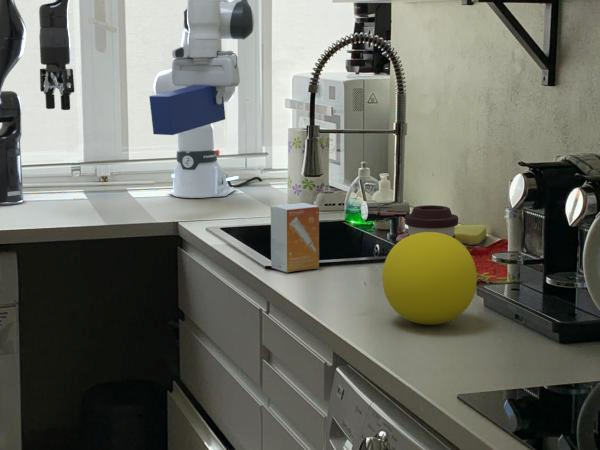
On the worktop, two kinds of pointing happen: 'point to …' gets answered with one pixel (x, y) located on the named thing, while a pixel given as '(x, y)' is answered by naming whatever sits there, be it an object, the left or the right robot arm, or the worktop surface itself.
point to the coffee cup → (431, 220)
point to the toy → (429, 278)
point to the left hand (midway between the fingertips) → (58, 109)
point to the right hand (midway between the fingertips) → (206, 103)
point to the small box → (295, 237)
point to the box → (185, 109)
